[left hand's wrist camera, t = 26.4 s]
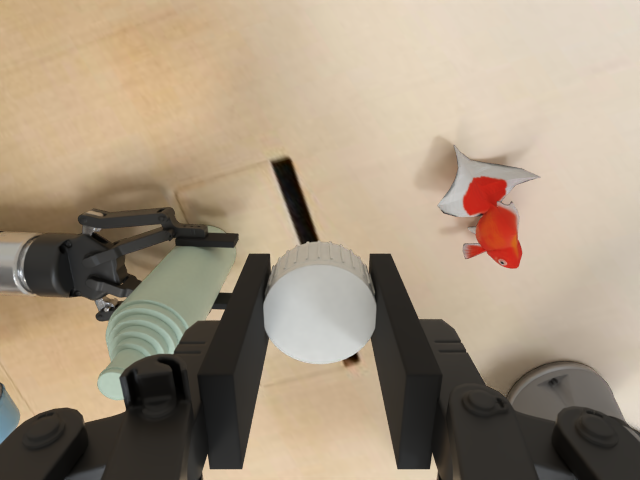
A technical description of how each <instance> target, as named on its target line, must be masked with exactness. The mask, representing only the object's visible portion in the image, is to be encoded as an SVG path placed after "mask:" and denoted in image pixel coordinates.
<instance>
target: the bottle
mask: <svg viewBox="0 0 640 480" xmlns="http://www.w3.org/2000/svg"><path fill="white" fill-rule="evenodd" d="M208 232H209V233H226V232H224V231H223V230H221V229H219V228H217V227H213V226H208ZM235 258H236V248H235V247H234V248H219V247H194V246H175V247H174V248H173V249H172V250H171V251H170V252H169V253H168V254H167V255H166V257H165V258H164V259H163V260H162V261H161V262H160V263H159V264H158V265H157V266H156V267H155V268H154V269H153V270H152V272H151V273H150V274H149V275H148V276H147V277H146V278H145V279H144V280H143V281H142V282H141V283H140V284H139V285H138V287H137V288H136V289H135V290H134V291H133V292H132V293H131V294H130V295H129V296H128V297H127V298H126V299H125V300H124V302H123V303H122V304H121V305H120V306H119V307H118V308H117V309H116V310H115V311H114V312H113V314H112V315H111V317H110V319H109V323H108V326H107V330H106V342H107V346H108V351H109V356H110V359H111V363H110V364H109V365H108V367H107V368H106V369H105V370H103V371H102V372H101V374H100V375H99V378H98V383H97V384H98V388H99V390H100V392H101V393H102V394H103V395H104V396H106V397H108V398H110V399H113V400H123V399H124V397H123V393H122V388H121V384H120V379H119V377H120V376H121V374H122V373H123V371H124V370H125V369H126V368H127V367H129V366H130V365H131V364H133V363H134V362H136V361H138V360H140V359H142V358H145V357H147V356H151V355H156V354H174V350H175V348H176V347H177V345H178V344H179V341H180V340H181V338H182V336H183V334H184V332H185V331H186V330H187V329H188V328H189V327H191V326H192V325H193V324H194V323H196V322H197V321H205V320H206V318H207V316H208V314H209V312H210V310H211V308H212V306H213V304H214V302H215V300H216V298H217V296H218V294H219V292H220V290H221V288H222V286H223V284H224V282H225V280H226V278H227V276H228V274H229V272H230V270H231V268H232V266H233V264H234V261H235Z"/></svg>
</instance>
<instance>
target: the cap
mask: <svg viewBox="0 0 640 480" xmlns="http://www.w3.org/2000/svg"><path fill="white" fill-rule="evenodd" d="M374 295H375V290H374V287H373V283H372V279H371V276H370V273H369V274H368V270H367V266H366V264H365V265H364V264H363V263H362V261H361V259H360V257H359V256H358V257H357V256H356V255H355V254H354V253H353V252H352V250H351V249H350V250H348V249H346V248H344V247H343V245H341V244H340V245H337V244H334V243H332V242H330V241H329V243H328V242H320V241H318V242H311V243H309V242H307V243H306V244H302V245H300V246H298V245H296V247H295V248H293V249H292V250H290V251H286V254H285V255H283V256H282V258H280V257H279V259H278V262H277V264H276V265H275V266H274V265H273V267H272V271H271V275H270V276H269V280H268V284H267V287H266V291H265V299H264V303H263V311H264V327H265V330H266V333H267V335H268V336H269V338H270V340H271V341H272V342H273V344H274V345H275V346H276V347H277V348H278V349H279V350H280V351H282V352H283V353H285V354H286V355H288V356H290V357H291V358H294V359H296V360H299V361H302V362H306V363H312V364H328V363H334V362H338V361H341V360H344V359H346V358H348V357H350V356H352V355H354V354H355V353H356V352H358V351H359V350H360V349H361V348H363V347H364V345H365V344H366V343H367V342H368V341H369V339H370V338H371V336H372V334H373V332H374V330H375V323H376V300H375V297H374Z"/></svg>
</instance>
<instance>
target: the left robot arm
mask: <svg viewBox="0 0 640 480" xmlns="http://www.w3.org/2000/svg"><path fill="white" fill-rule="evenodd" d="M369 273H370V276H371V279H372V283H373V287H374V290H375V295H374V297H375V300H376V323H375V330H374V332H373V334H372V336H371V342H372V346H373V351H374V356H375V361H376V366H377V371H378V376H379V381H380V386H381V390H382V395H383V400H384V405H385V410H386V415H387V420H388V425H389V429H390V434H391V439H392V444H393V449H394V454H395V459H396V464H397V469H430V464H431V457H432V453H433V456H434V459H435V463H436V466H437V469H438V475H437V480H640V433H639V432H637V431H635V430H633V429H632V428H631V427H630V426H629V425H628V424H627V423H626V421H625V419H624V417H623V415H622V413H621V411H620V408H619V406H618V404H617V402H616V400H615V398H614V396H613V393H612V391H611V389H610V387H609V385H608V384H607V382H606V381H605V380H604V379H603V378H602V377H601V376H600V375H599V374H598V373H597V372H596V371H595V370H593V369H592V368H590V367H588V366H586V365H584V364H580V363H576V362H555V363H550V364H546V365H543V366H540V367H538V368H536V369H534V370H532V371H530V372H528V373H527V374H526V375H524V376H523V377H522V378H520V379H519V380H518V381H517V382H516V384H515V385H514V386H513V387H512V389H511V390H510V392H509V394H508V396H507V398H505V397H504V396H503V395H502V394H501V393H499V392H498V391H496V390H494V389H492V388H490V387H488V386H486V385H485V383H484V381H483V379H482V378H481V376H480V374H479V372H478V370H477V369H476V367H475V365H474V363H473V362H472V360H471V358H470V356H469V354H468V353H466V349H465V347H464V345H463V344H462V343H461V340H460V338H459V337H458V335H457V333H456V331H455V329H453V328H452V327H451V326H450V325H448V324H447V323H446V322H445V321H443V320H442V319H418V316H417V314H416V312H415V309H414V307H413V305H412V302H411V300H410V298H409V296H408V293H407V291H406V289H405V286H404V284H403V282H402V279H401V277H400V275H399V272H398V270H397V268H396V265H395V263H394V261H393V258H392V256H391V254H370V261H369ZM270 275H271V266H270V254H249V255H248V258H247V260H246V262H245V265H244V267H243V269H242V272H241V274H240V276H239V279H238V281H237V283H236V286H235V288H234V290H233V293H232V295H231V297H230V300H229V302H228V304H227V307H226V309H225V311H224V313H223V316H222V318H221V320H220V321H197V322H196V323H194V324H193V325H192V326H191V327H189V328H188V329H187V330H186V331H185V332H184V334H183V336H182V338H181V340H180V341H179V344H178V345H177V347H176V348H175V350H174V354H156V355H151V356H147V357H145V358H142V359H140V360H138V361H136V362H134V363H133V364H131V365H130V366H129V367H127V368H126V369H125V370H124V371H123V373H122V374H121V376H120V377H119V379H120V384H121V388H122V393H123V397H124V402H125V406H126V411H125V412H124V413H121V414H118V415H115V416H111V417H107V418H103V419H99V420H95V421H91V422H86V423H84V419H83V416H82V415H81V414H80V413H79V412H78V411H77V410H75V409H70V408H58V409H52V410H49V411H46V412H43V413H40V414H38V415H36V416H34V417H32V418H30V419H28V420H27V421H25V422H23V423H22V424H21V425H20V426H19V427H17V428H16V429H15V430H14V431H13V432H12V433H11V434H10V435H9V436H8V437H7V438H6V439H5V440H4V441H3V442H2V443H1V444H0V480H203V475H202V470H203V467H204V464H205V460H206V457H207V454H208V459H209V466H210V469H242V467H243V462H244V458H245V453H246V448H247V443H248V438H249V433H250V428H251V423H252V418H253V414H254V409H255V404H256V399H257V394H258V389H259V384H260V379H261V375H262V370H263V365H264V360H265V355H266V350H267V345H268V340H269V336H268V335H267V333H266V330H265V327H264V311H263V303H264V299H265V291H266V287H267V284H268V280H269V276H270Z"/></svg>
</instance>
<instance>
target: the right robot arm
mask: <svg viewBox="0 0 640 480" xmlns="http://www.w3.org/2000/svg"><path fill="white" fill-rule="evenodd" d="M174 214H175V211H174V210H173V208H171V207H166V208H155V209H143V210H132V211H121V212H106V211H102V210H98V209H91V210H89V211H88V212H86V213H84V214H82V215H80V216H79V217H78V221H79V223H80V224H82V225H83V229H82V233H81V234H78V235H77V234H64V233H45V234H43V233H34V232H10V231H0V295H14V296H42V297H66V298H68V297H78V296H82V297H86V298H88V299H90V300H94V301H95V303H96V305H97V308H98V310H99V312H98V313H97V314H96V319H97V320H98V321H108V320H109V319H110V317H111V315H112V314H113V312H114V311H115V310H116V309H117V308H118V307H119V306H120V305H121V304H122V303H123V302H124V301H118V299H116V298H114V299H109V298H107V297H106V295H107V294H111V295H114V296H117V297H128V296H129V295H130V294H131V293H132V292H133V291H134V290H135V289H136V288H137V287H138V285H139V284H140V283H141V282H142V281H140V280H137V279H136V277H135V276H133V275H130V274H128V273H127V269H126V267H125V265H124V262H125V254H128V253H131V252H134V251H137V250H140V249H143V248H146V247H149V246H152V245H155V244H158V243H161V242H164V241H167V240H169V241H171V240H172V239H173V238H176V239H175V242H176V246H194V247H219V248H234V247H235V245H236V243H237V241H238V240H239V239H238V234H234V233H209V232H208V226H205V225H196V224H195V225H194V224H181V223H179V222H178V221H177V220H176V218H175V216H174ZM154 224H161V225H162V227H160V228H157V229H154V230H151V231H148V232H145V233H142V234H139V235H136V236H134V237H131V238H125V239H122V240H119V241H117V242H114V243H111V242H109V241H108V240H106V239H105V238H103V237H102V236H100V235H99V234H97V233H95V232H98V231H100V230H102V229H108V228H120V227H131V226H143V225H154ZM122 283H123V284H122ZM121 284H122V285H121ZM231 295H232V293H219V294H218V296H217V298H216V300H215V302H214V304H213V306H212V308H211V309H226V307H227V304H228V302H229V300H230V297H231ZM210 311H211V310H210ZM209 313H210V312H209ZM19 420H20V412H19V410H18V408H17V406H16V405H15V403H14V402H13V400H12V399H11V397H10V396H9V394H8V393H7V391H6V390H5V386H4V385H3V384H2V383H0V444H1V443H2V442H3V441H4V440H5V439H6V438H7V437H8V436H9V435H10V434H11V433H12V432H13V431H14V430H15V429H16V427H17V425H18V423H19Z"/></svg>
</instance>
